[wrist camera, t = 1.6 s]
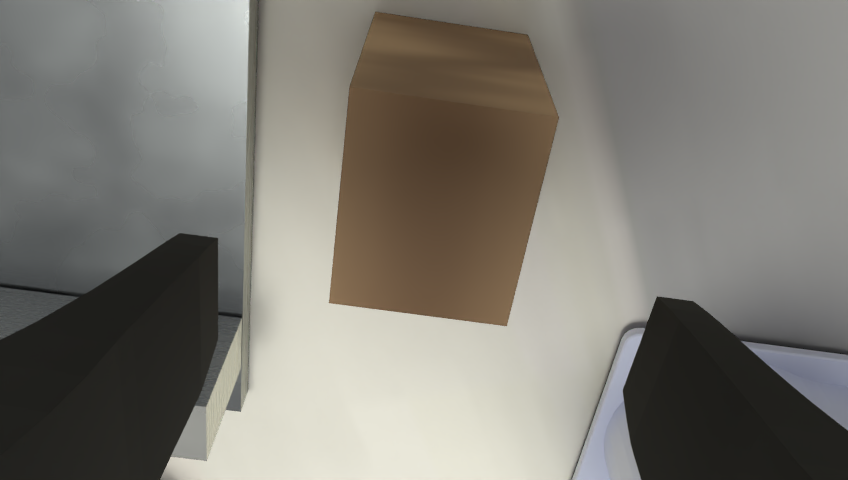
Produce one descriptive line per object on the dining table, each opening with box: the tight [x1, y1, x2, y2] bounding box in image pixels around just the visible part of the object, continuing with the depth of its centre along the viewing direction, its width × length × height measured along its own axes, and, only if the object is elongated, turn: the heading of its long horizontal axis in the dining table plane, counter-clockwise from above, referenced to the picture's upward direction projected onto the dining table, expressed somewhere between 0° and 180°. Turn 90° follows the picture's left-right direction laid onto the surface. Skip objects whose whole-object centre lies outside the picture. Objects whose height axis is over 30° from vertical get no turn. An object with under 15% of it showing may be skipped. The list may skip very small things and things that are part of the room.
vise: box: [0, 0, 258, 412], centre depth 18 cm, size 9×22×5 cm, turn 172°
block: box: [329, 12, 559, 326], centre depth 18 cm, size 4×5×6 cm
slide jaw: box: [0, 287, 242, 461], centre depth 23 cm, size 9×11×4 cm
